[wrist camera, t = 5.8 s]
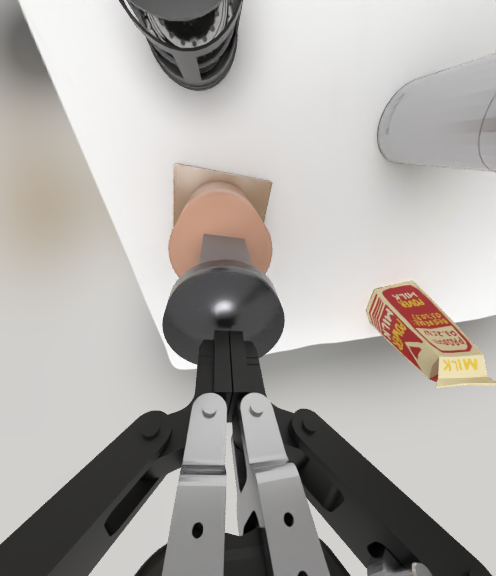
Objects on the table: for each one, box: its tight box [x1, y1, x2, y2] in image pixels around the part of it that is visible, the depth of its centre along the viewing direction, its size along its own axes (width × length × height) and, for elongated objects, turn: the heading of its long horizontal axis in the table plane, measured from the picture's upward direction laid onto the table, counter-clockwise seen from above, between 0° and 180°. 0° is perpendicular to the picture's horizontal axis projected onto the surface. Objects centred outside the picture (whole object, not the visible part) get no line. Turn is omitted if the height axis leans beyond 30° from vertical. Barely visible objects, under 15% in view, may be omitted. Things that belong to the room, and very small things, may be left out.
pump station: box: [168, 163, 272, 278], centre depth 24 cm, size 13×12×22 cm
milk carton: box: [366, 281, 496, 388], centre depth 39 cm, size 9×9×20 cm
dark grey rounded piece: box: [163, 259, 285, 365], centre depth 17 cm, size 7×7×10 cm
